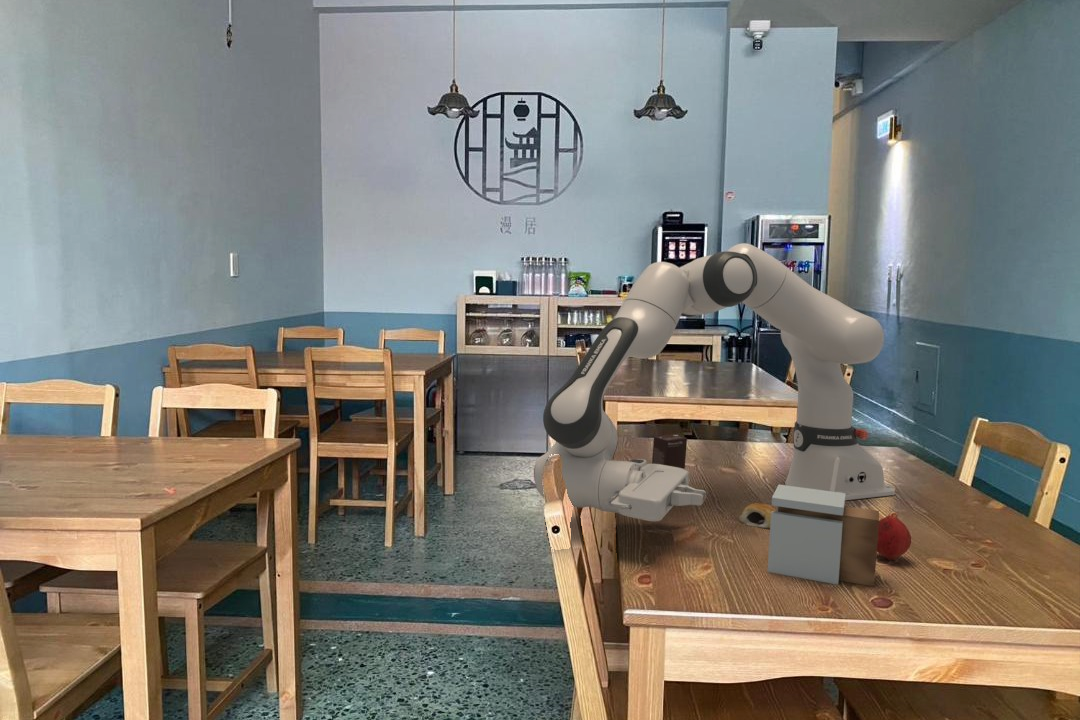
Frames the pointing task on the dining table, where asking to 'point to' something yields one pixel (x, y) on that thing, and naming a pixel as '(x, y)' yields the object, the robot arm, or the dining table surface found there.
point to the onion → (892, 537)
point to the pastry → (757, 515)
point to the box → (669, 450)
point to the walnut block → (853, 542)
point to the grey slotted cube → (806, 534)
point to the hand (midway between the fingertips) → (704, 498)
